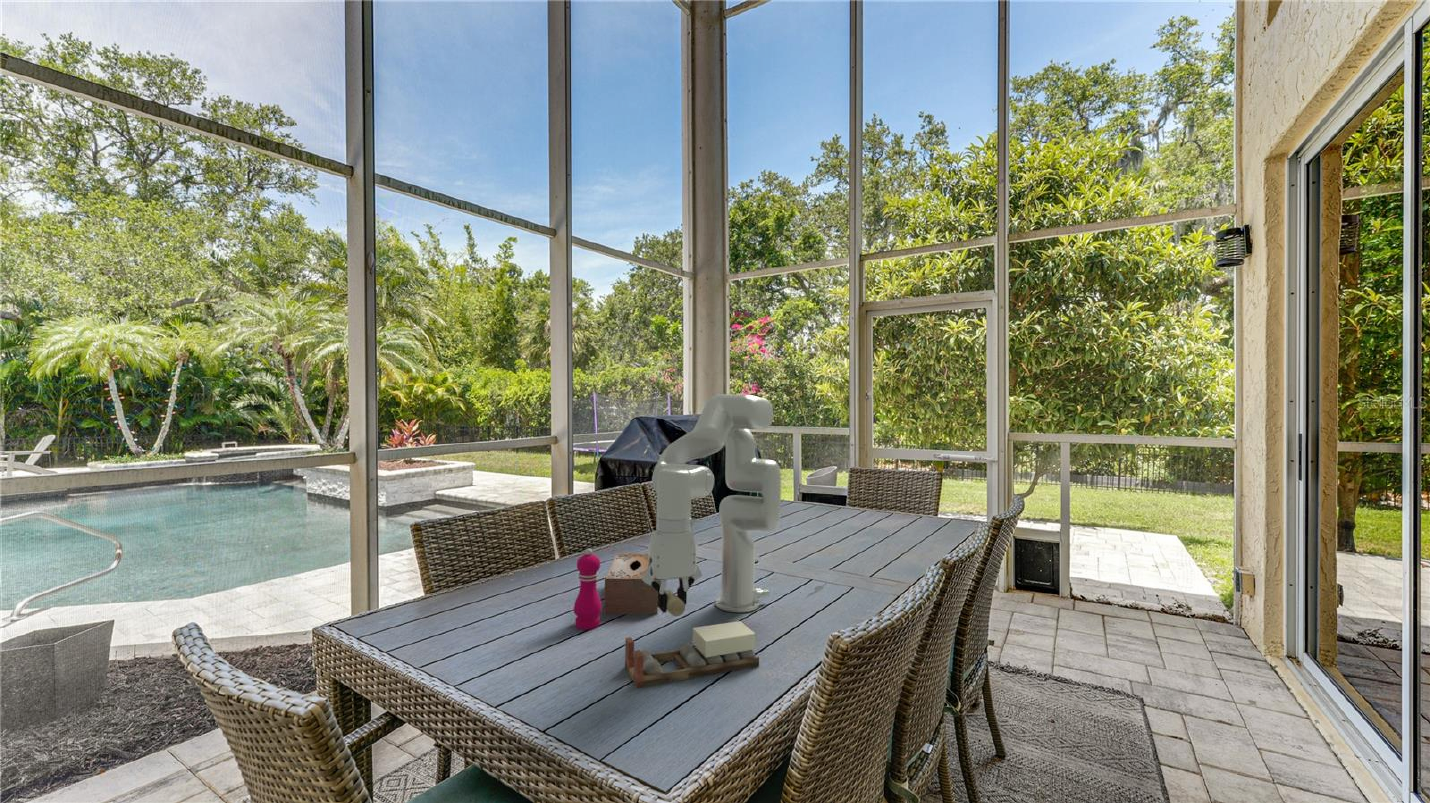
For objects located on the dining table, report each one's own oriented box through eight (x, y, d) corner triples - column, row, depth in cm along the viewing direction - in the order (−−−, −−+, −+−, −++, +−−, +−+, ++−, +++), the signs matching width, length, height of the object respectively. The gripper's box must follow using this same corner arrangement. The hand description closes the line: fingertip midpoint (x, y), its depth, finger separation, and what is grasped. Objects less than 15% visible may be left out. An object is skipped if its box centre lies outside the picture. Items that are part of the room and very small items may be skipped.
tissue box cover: (615, 584, 190) (616, 553, 189) (661, 585, 190) (661, 553, 190) (604, 614, 164) (604, 578, 164) (657, 614, 164) (657, 578, 164)
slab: (739, 635, 142) (740, 621, 142) (755, 649, 134) (755, 633, 134) (692, 643, 137) (692, 627, 137) (705, 657, 130) (706, 641, 130)
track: (739, 648, 143) (740, 621, 143) (758, 666, 134) (759, 637, 134) (625, 667, 132) (625, 637, 132) (637, 687, 123) (637, 656, 123)
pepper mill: (595, 631, 151) (596, 552, 151) (568, 628, 153) (569, 550, 153) (606, 621, 158) (607, 545, 158) (580, 618, 160) (581, 544, 160)
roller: (659, 606, 133) (659, 590, 133) (674, 604, 135) (674, 589, 134) (669, 617, 127) (669, 600, 127) (684, 615, 128) (685, 598, 128)
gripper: (702, 519, 137) (700, 599, 137) (632, 524, 131) (630, 608, 131) (715, 526, 130) (713, 610, 130) (641, 531, 124) (639, 620, 124)
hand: (671, 608), depth 131 cm, fingers closed on roller, 3 cm apart
